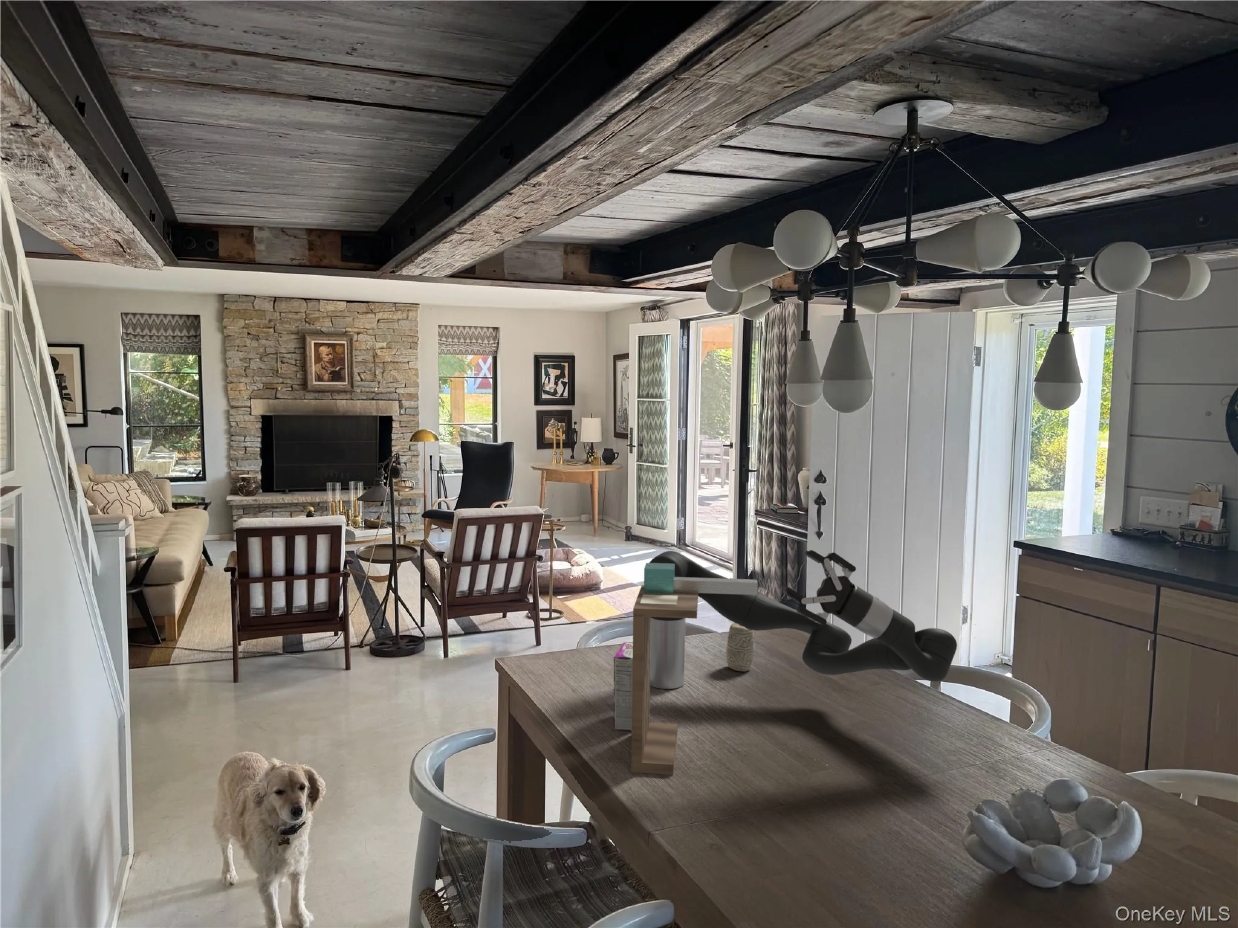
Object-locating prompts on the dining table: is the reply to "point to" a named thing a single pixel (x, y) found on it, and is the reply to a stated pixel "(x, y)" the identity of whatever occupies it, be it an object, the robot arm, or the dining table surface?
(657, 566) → the grey and teal bar
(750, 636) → the carving
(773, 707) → the dining table surface
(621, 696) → the candy bar box
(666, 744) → the bracket shelf
